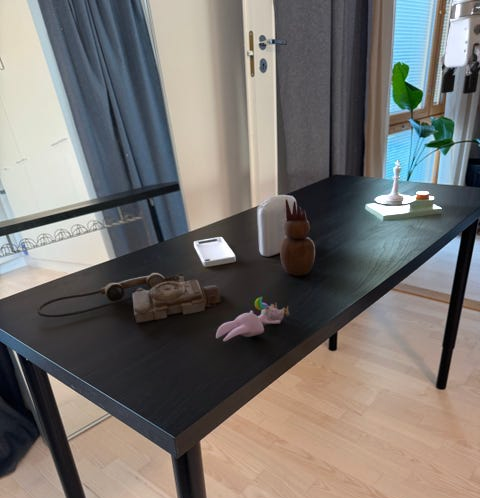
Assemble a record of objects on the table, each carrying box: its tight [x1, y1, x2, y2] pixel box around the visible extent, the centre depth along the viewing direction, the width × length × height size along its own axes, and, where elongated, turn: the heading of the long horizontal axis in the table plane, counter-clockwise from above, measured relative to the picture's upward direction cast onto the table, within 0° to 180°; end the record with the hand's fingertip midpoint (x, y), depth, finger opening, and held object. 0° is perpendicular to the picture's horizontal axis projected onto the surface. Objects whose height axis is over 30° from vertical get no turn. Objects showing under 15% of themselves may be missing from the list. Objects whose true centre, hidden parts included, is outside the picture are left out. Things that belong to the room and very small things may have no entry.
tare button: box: [415, 190, 430, 200], centre depth 113 cm, size 3×3×2 cm
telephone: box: [37, 272, 222, 324], centre depth 77 cm, size 15×33×4 cm, turn 105°
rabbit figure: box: [215, 296, 290, 342], centre depth 65 cm, size 6×6×15 cm
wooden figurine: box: [279, 199, 316, 277], centre depth 81 cm, size 7×6×15 cm
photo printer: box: [256, 194, 298, 257], centre depth 94 cm, size 10×4×12 cm, turn 132°
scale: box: [364, 195, 443, 222], centre depth 114 cm, size 16×12×3 cm
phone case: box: [193, 236, 237, 268], centre depth 98 cm, size 7×1×15 cm
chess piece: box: [385, 159, 404, 201], centre depth 110 cm, size 5×5×10 cm
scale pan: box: [374, 194, 414, 207], centre depth 112 cm, size 10×10×1 cm
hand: (457, 92), depth 109 cm, fingers open, 9 cm apart
